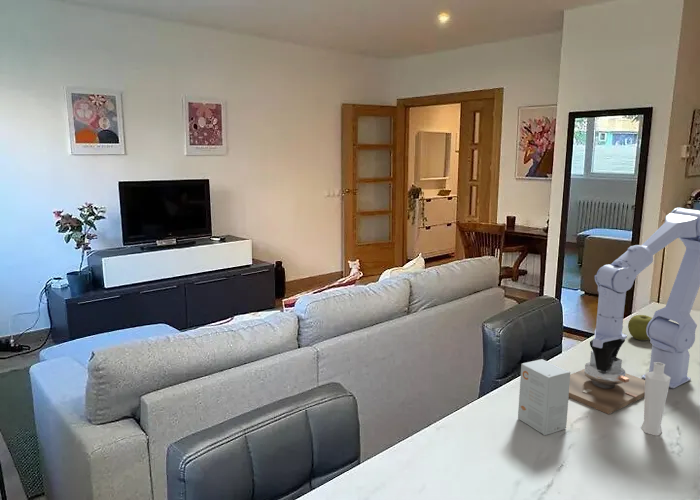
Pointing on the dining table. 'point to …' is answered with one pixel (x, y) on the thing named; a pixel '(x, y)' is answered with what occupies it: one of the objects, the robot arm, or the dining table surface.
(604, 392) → the post board
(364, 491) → the dining table surface
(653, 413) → the perfume bottle
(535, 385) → the small box
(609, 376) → the cap
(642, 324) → the apple
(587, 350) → the dining table surface
